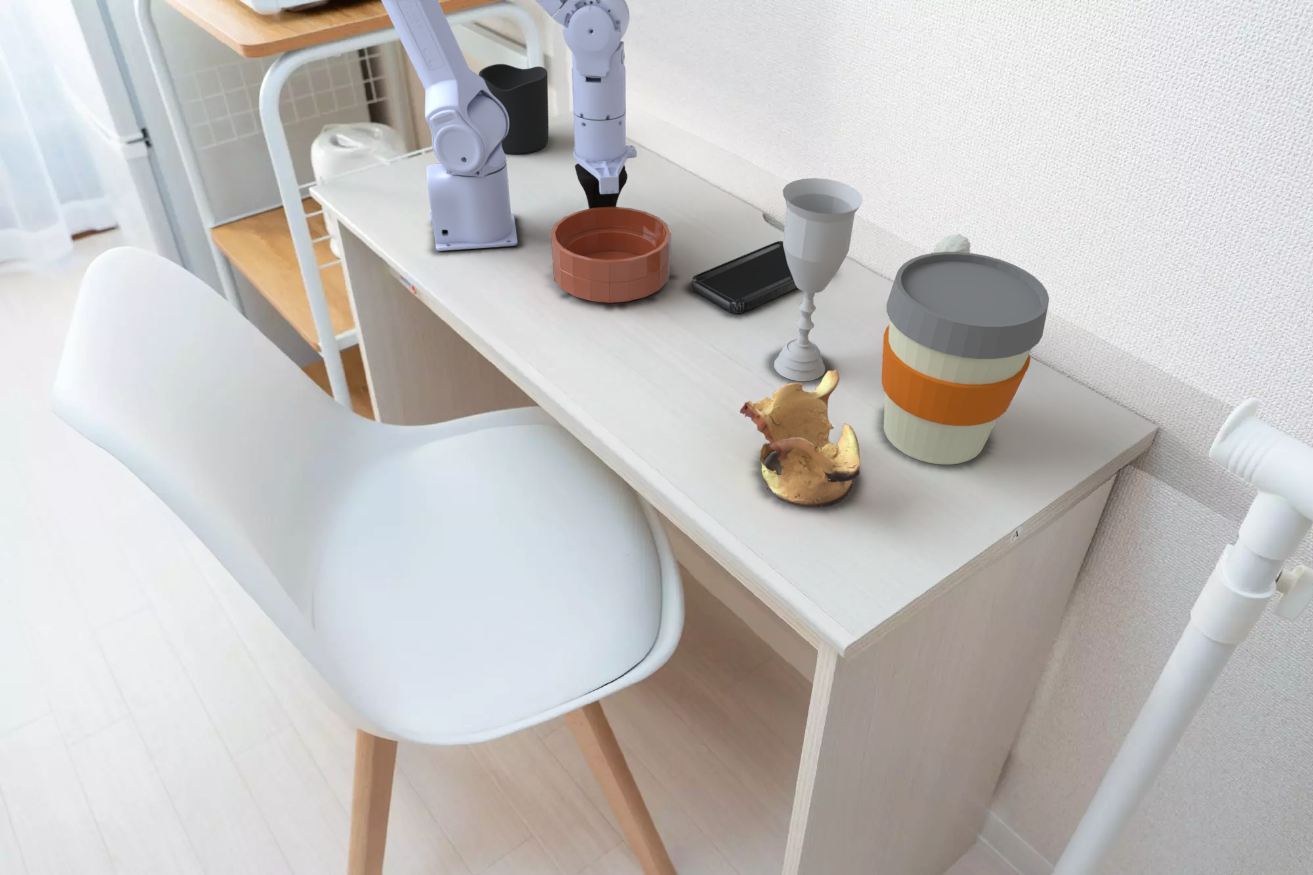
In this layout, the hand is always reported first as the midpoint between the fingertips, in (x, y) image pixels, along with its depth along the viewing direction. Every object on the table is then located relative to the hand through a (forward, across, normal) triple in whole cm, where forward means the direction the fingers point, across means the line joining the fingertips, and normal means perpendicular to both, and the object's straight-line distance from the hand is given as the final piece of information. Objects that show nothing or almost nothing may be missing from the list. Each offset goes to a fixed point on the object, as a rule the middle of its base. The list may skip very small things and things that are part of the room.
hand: (602, 226), depth 110 cm
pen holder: (+3, +33, +8) cm, 34 cm away
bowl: (+2, -8, 0) cm, 8 cm away
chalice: (+3, -28, -16) cm, 33 cm away
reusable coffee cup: (+3, -40, -25) cm, 47 cm away
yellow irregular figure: (+3, -44, -12) cm, 46 cm away
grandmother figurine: (+3, -27, -30) cm, 41 cm away
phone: (+2, -11, -16) cm, 20 cm away
